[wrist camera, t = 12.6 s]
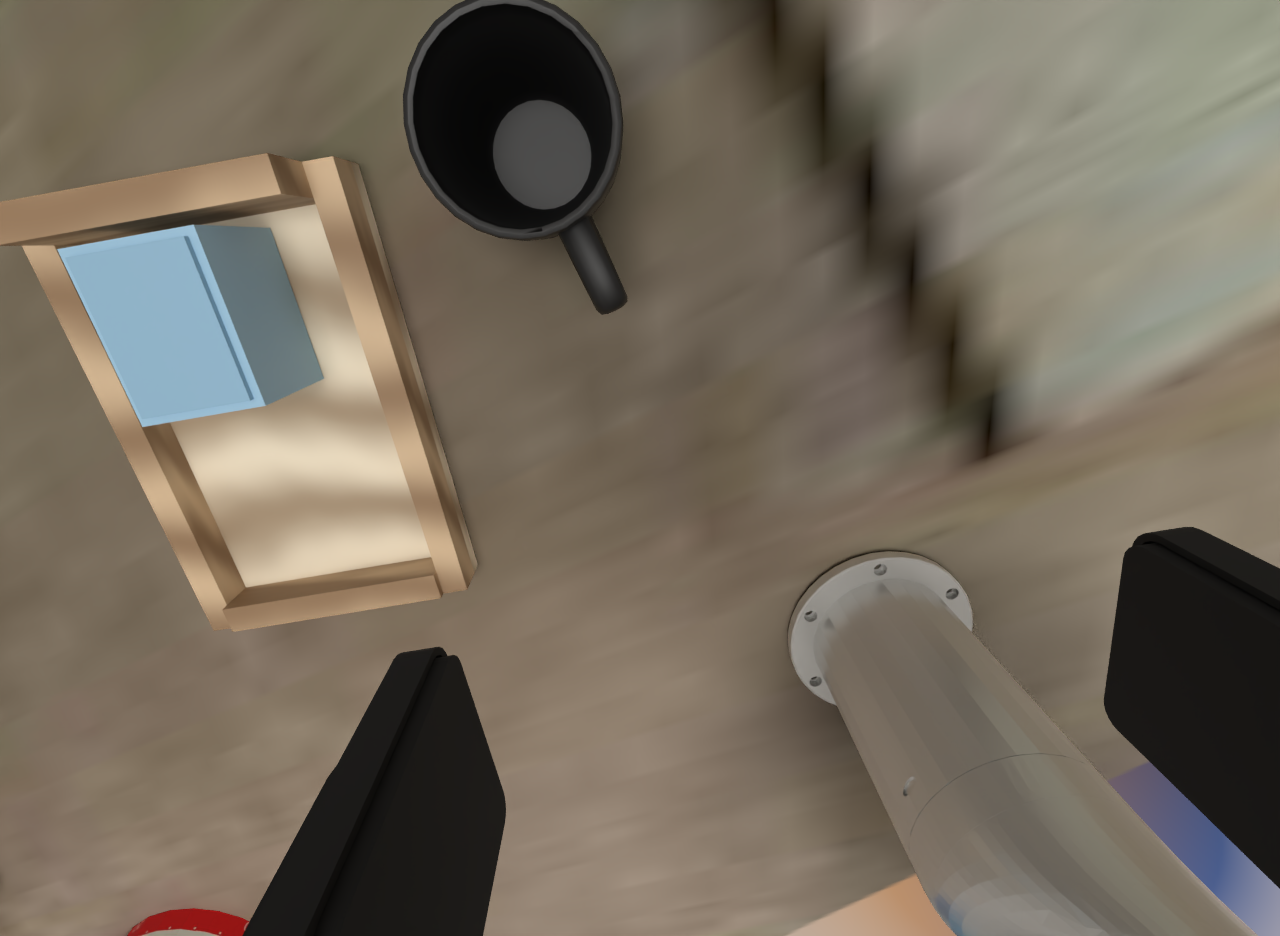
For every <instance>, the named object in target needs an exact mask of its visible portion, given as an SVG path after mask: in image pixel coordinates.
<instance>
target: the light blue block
mask: <svg viewBox="0 0 1280 936" xmlns="http://www.w3.org/2000/svg"><path fill="white" fill-rule="evenodd" d="M57 250H58V252H59V254H60V256H61V259H62V261H63V263H64V265H65V267H66V269H67V271H68V273H69V275H70V277H71V279H72V281H73V284H74V286H75V288H76V290H77V292H78V294H79V296H80V298H81V300H82V302H83V304H84V306H85V309H86V311H87V313H88V315H89V317H90V319H91V321H92V323H93V325H94V327H95V329H96V331H97V334H98V336H99V338H100V340H101V342H102V344H103V346H104V348H105V350H106V352H107V354H108V356H109V359H110V361H111V363H112V365H113V367H114V369H115V371H116V373H117V375H118V377H119V379H120V381H121V384H122V386H123V388H124V390H125V392H126V394H127V396H128V398H129V400H130V402H131V404H132V406H133V409H134V411H135V413H136V415H137V417H138V419H139V421H140V423H141V425H142V427H146V426H152V425H157V424H163V423H169V422H175V421H181V420H186V419H192V418H198V417H204V416H210V415H215V414H221V413H227V412H233V411H239V410H245V409H250V408H256V407H262V406H266V405H269V404H271V403H273V402H275V401H277V400H279V399H281V398H284V397H286V396H288V395H290V394H292V393H294V392H297V391H299V390H301V389H303V388H305V387H307V386H309V385H312V384H314V383H316V382H318V381H320V380H322V379H324V377H323V374H322V372H321V369H320V366H319V363H318V360H317V358H316V355H315V352H314V349H313V346H312V344H311V341H310V338H309V335H308V332H307V330H306V327H305V324H304V321H303V318H302V316H301V313H300V310H299V307H298V304H297V302H296V299H295V296H294V293H293V290H292V288H291V285H290V282H289V279H288V276H287V274H286V271H285V268H284V265H283V262H282V260H281V257H280V254H279V251H278V248H277V246H276V243H275V240H274V237H273V234H272V232H271V229H270V228H263V227H239V226H214V225H189V226H183V227H178V228H172V229H166V230H161V231H155V232H150V233H144V234H139V235H133V236H128V237H122V238H117V239H111V240H106V241H100V242H95V243H89V244H83V245H78V246H72V247H67V248H61V249H57Z"/></svg>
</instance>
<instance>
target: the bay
mask: <svg viewBox="0 0 1280 936" xmlns="http://www.w3.org/2000/svg"><path fill="white" fill-rule="evenodd" d="M189 225H214V226H239V227H263V228H270V229H271V232H272V234H273V237H274V240H275V243H276V246H277V248H278V251H279V254H280V257H281V260H282V262H283V265H284V268H285V271H286V274H287V276H288V279H289V282H290V285H291V288H292V290H293V293H294V296H295V299H296V302H297V304H298V307H299V310H300V313H301V316H302V318H303V321H304V324H305V327H306V330H307V332H308V335H309V338H310V341H311V344H312V346H313V349H314V352H315V355H316V358H317V360H318V363H319V366H320V369H321V372H322V374H323V377H324V379H322V380H320V381H318V382H316V383H314V384H312V385H309V386H307V387H305V388H303V389H301V390H299V391H297V392H294V393H292V394H290V395H288V396H286V397H284V398H281V399H279V400H277V401H275V402H273V403H271V404H269V405H266V406H262V407H256V408H250V409H245V410H239V411H233V412H227V413H221V414H215V415H210V416H204V417H198V418H192V419H186V420H181V421H175V422H169V423H163V424H157V425H152V426H146V427H142V425H141V423H140V421H139V419H138V417H137V415H136V413H135V411H134V409H133V406H132V404H131V402H130V400H129V398H128V396H127V394H126V392H125V390H124V388H123V386H122V384H121V381H120V379H119V377H118V375H117V373H116V371H115V369H114V367H113V365H112V363H111V361H110V359H109V356H108V354H107V352H106V350H105V348H104V346H103V344H102V342H101V340H100V338H99V336H98V334H97V331H96V329H95V327H94V325H93V323H92V321H91V319H90V317H89V315H88V313H87V311H86V309H85V306H84V304H83V302H82V300H81V298H80V296H79V294H78V292H77V290H76V288H75V286H74V284H73V281H72V279H71V277H70V275H69V273H68V271H67V269H66V267H65V265H64V263H63V261H62V259H61V256H60V254H59V252H58V250H57V249H61V248H67V247H72V246H78V245H83V244H89V243H95V242H100V241H106V240H111V239H117V238H122V237H128V236H133V235H139V234H144V233H150V232H155V231H161V230H166V229H172V228H178V227H183V226H189ZM0 246H22V247H23V249H24V251H25V253H26V255H27V257H28V259H29V261H30V263H31V265H32V267H33V269H34V271H35V273H36V275H37V277H38V279H39V281H40V283H41V285H42V287H43V289H44V291H45V293H46V295H47V297H48V299H49V301H50V303H51V305H52V307H53V309H54V311H55V313H56V315H57V317H58V319H59V321H60V323H61V325H62V327H63V329H64V331H65V333H66V335H67V337H68V339H69V341H70V343H71V345H72V347H73V349H74V351H75V353H76V355H77V357H78V359H79V361H80V363H81V365H82V367H83V369H84V371H85V373H86V375H87V377H88V379H89V381H90V383H91V385H92V387H93V389H94V391H95V393H96V395H97V397H98V399H99V401H100V403H101V405H102V407H103V409H104V411H105V413H106V415H107V417H108V419H109V421H110V423H111V425H112V427H113V429H114V431H115V433H116V435H117V437H118V439H119V441H120V443H121V445H122V447H123V449H124V451H125V453H126V455H127V457H128V459H129V462H130V464H131V466H132V468H133V470H134V472H135V474H136V476H137V478H138V480H139V482H140V484H141V486H142V488H143V490H144V492H145V494H146V496H147V498H148V500H149V502H150V504H151V506H152V508H153V510H154V512H155V514H156V516H157V518H158V520H159V522H160V524H161V526H162V528H163V530H164V532H165V534H166V536H167V538H168V540H169V542H170V544H171V546H172V548H173V550H174V552H175V554H176V556H177V558H178V560H179V562H180V564H181V566H182V568H183V570H184V572H185V574H186V576H187V578H188V580H189V582H190V584H191V586H192V588H193V590H194V592H195V594H196V596H197V598H198V600H199V602H200V604H201V606H202V608H203V610H204V612H205V614H206V616H207V618H208V620H209V622H210V624H211V626H212V628H213V630H214V631H216V630H222V629H228V628H231V630H232V632H235V631H241V630H247V629H253V628H260V627H266V626H272V625H278V624H284V623H290V622H296V621H303V620H309V619H315V618H321V617H327V616H333V615H339V614H346V613H352V612H358V611H364V610H370V609H376V608H383V607H389V606H395V605H401V604H407V603H413V602H419V601H426V600H432V599H438V598H441V597H442V595H443V593H449V592H455V591H461V590H467V589H468V587H469V584H470V582H471V580H472V577H473V575H474V573H475V570H476V568H477V566H478V564H477V560H476V557H475V554H474V550H473V547H472V543H471V540H470V537H469V533H468V530H467V527H466V523H465V520H464V517H463V513H462V510H461V507H460V503H459V500H458V496H457V493H456V490H455V486H454V483H453V480H452V476H451V473H450V470H449V466H448V463H447V460H446V456H445V453H444V450H443V446H442V443H441V439H440V436H439V433H438V429H437V426H436V423H435V419H434V416H433V413H432V409H431V406H430V403H429V399H428V396H427V392H426V389H425V386H424V382H423V379H422V376H421V372H420V369H419V366H418V362H417V359H416V356H415V352H414V349H413V345H412V342H411V339H410V335H409V332H408V329H407V325H406V322H405V319H404V315H403V312H402V309H401V305H400V302H399V298H398V295H397V292H396V288H395V285H394V282H393V278H392V275H391V272H390V268H389V265H388V262H387V258H386V255H385V251H384V248H383V245H382V241H381V238H380V235H379V231H378V228H377V225H376V221H375V218H374V215H373V211H372V208H371V205H370V201H369V198H368V194H367V191H366V188H365V184H364V181H363V178H362V174H361V171H360V168H359V164H357V163H354V162H350V161H347V160H344V159H340V158H337V157H334V156H331V157H326V158H320V159H315V160H309V161H304V162H300V161H296V160H292V159H289V158H285V157H281V156H277V155H273V154H269V153H265V154H259V155H254V156H248V157H243V158H237V159H232V160H226V161H221V162H215V163H210V164H205V165H199V166H194V167H188V168H183V169H177V170H172V171H166V172H161V173H155V174H150V175H145V176H139V177H134V178H128V179H123V180H117V181H112V182H106V183H101V184H95V185H90V186H85V187H79V188H74V189H68V190H63V191H57V192H52V193H46V194H41V195H35V196H30V197H25V198H19V199H14V200H8V201H3V202H0Z"/></svg>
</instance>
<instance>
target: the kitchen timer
mask: <svg viewBox="0 0 1280 936" xmlns="http://www.w3.org/2000/svg"><path fill="white" fill-rule="evenodd" d="M248 924H249V921H247V920H245V919H243V918H240V917H237V916H233V915H230V914H227V913H223V912H220V911H213V910H203V909H194V908H193V909H180V910H169V911H166V912H163V913H159V914H156V915H153V916H150V917H148V918H146V919H145V920H143V921H142V922H140V923H139V924H137V925H136V926H134V927H133V928H132V930H131V931H130V933H129V934H128V935H127V936H242V935H243V933H244V931H245V929H246V928H247V926H248Z"/></svg>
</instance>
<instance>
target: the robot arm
mask: <svg viewBox="0 0 1280 936" xmlns="http://www.w3.org/2000/svg"><path fill="white" fill-rule="evenodd" d="M972 627H973V616H972V608H971V605H970V602H969V599H968V596H967V594H966V593H965V591H964V589H963V588H962V586H961V585H960V583H959V582H958V581H957V580H956V579H955V578H954V577H953V576H952V575H951V574H950V573H949V572H948V571H947V570H945V569H944V568H943V567H941V566H940V565H939V564H937V563H936V562H934V561H932V560H929V559H927V558H925V557H923V556H920V555H915V554H911V553H907V552H893V551H886V552H878V553H870V554H866V555H863V556H859V557H856V558H852V559H850V560H848V561H846V562H844V563H842V564H840V565H838V566H836V567H834V568H833V569H831V570H830V571H828V572H827V573H825V574H824V575H822V576H821V577H820V578H819V579H818V580H817V581H816V582H815V583H814V584H813V585H812V586H810V587H809V588H808V590H807V591H806V592H805V594H804V595H803V596H802V598H801V599H800V601H799V602H798V604H797V606H796V608H795V610H794V612H793V614H792V617H791V621H790V625H789V629H788V649H789V653H790V658H791V661H792V663H793V665H794V668H795V670H796V673H797V674H798V676H799V677H800V679H801V681H802V682H803V684H804V685H805V686H806V687H807V688H808V689H809V690H810V691H811V692H812V693H813V694H815V695H816V696H818V697H819V698H821V699H823V700H824V701H826V702H828V703H831V704H833V705H836V706H837V707H838V709H839V711H840V714H841V716H842V718H843V720H844V722H845V724H846V726H847V728H848V730H849V733H850V735H851V737H852V739H853V741H854V743H855V745H856V747H857V749H858V752H859V754H860V756H861V758H862V760H863V763H864V765H865V767H866V769H867V771H868V773H869V775H870V777H871V779H872V781H873V783H874V785H875V788H876V790H877V792H878V794H879V796H880V798H881V800H882V802H883V805H884V807H885V809H886V811H887V813H888V815H889V817H890V819H891V821H892V824H893V826H894V828H895V830H896V832H897V834H898V836H899V838H900V841H901V843H902V845H903V847H904V849H905V851H906V853H907V855H908V857H909V860H910V862H911V864H912V866H913V868H914V870H915V872H916V874H917V877H918V879H919V881H920V883H921V885H922V887H923V889H924V891H925V893H926V895H927V896H928V898H929V900H930V902H931V903H932V905H933V907H934V908H935V910H936V911H937V913H938V914H939V915H940V917H941V918H942V919H943V921H944V922H945V923H946V925H947V926H948V927H949V928H950V929H951V930H952V931H953V932H954V933H955V934H956V935H957V936H1258V935H1257V934H1256V933H1254V932H1253V931H1252V930H1251V929H1250V928H1249V927H1248V926H1247V925H1246V924H1245V923H1244V922H1243V921H1242V920H1241V919H1240V918H1239V917H1237V916H1236V915H1235V914H1234V913H1233V912H1232V911H1231V910H1230V909H1229V908H1228V907H1227V906H1226V905H1225V904H1224V903H1222V901H1220V900H1219V899H1218V898H1217V897H1216V896H1215V895H1214V894H1213V893H1212V892H1211V891H1210V890H1209V889H1208V888H1207V887H1206V886H1205V885H1204V884H1203V883H1202V882H1201V881H1200V880H1199V879H1198V878H1197V877H1196V876H1195V875H1194V874H1193V873H1192V872H1191V871H1190V870H1189V869H1188V868H1187V867H1186V866H1185V865H1184V864H1183V862H1181V861H1180V860H1179V858H1178V857H1177V856H1176V855H1175V854H1174V853H1173V852H1172V851H1171V850H1170V849H1169V848H1168V847H1167V846H1166V845H1165V844H1164V843H1163V842H1162V840H1161V839H1160V838H1159V837H1158V836H1157V835H1156V834H1155V833H1154V832H1153V831H1152V830H1151V829H1150V828H1149V827H1148V826H1147V824H1146V823H1145V822H1144V821H1143V820H1142V819H1141V818H1140V817H1139V816H1138V815H1137V814H1136V813H1135V812H1134V811H1133V809H1132V808H1131V807H1130V806H1129V805H1128V804H1127V803H1126V802H1125V801H1124V799H1123V798H1122V797H1121V796H1120V795H1119V794H1118V793H1117V792H1116V791H1115V790H1114V788H1113V787H1111V785H1110V784H1109V783H1108V782H1107V781H1106V780H1105V779H1104V777H1102V776H1101V775H1100V774H1099V772H1098V771H1097V770H1096V769H1095V768H1094V767H1093V765H1092V764H1091V763H1090V762H1089V761H1088V760H1087V759H1086V758H1085V756H1084V755H1083V754H1082V753H1081V752H1080V751H1079V750H1078V749H1077V748H1076V747H1075V745H1074V744H1073V743H1072V742H1071V741H1070V740H1069V739H1068V738H1067V737H1066V736H1065V734H1064V733H1063V732H1062V731H1061V730H1060V729H1059V728H1058V727H1057V726H1056V725H1055V723H1054V722H1053V721H1052V720H1051V719H1050V718H1049V717H1048V716H1047V715H1046V714H1045V712H1044V711H1043V710H1042V709H1041V708H1040V707H1039V706H1038V705H1037V704H1036V703H1035V701H1034V700H1033V699H1032V698H1031V697H1030V696H1029V695H1028V694H1027V693H1026V692H1025V690H1024V689H1023V688H1022V687H1021V686H1020V685H1019V684H1018V683H1017V682H1016V681H1015V679H1014V678H1013V677H1012V676H1011V675H1010V674H1009V673H1008V672H1007V671H1006V670H1005V668H1004V667H1003V666H1002V665H1001V664H1000V663H999V662H998V661H997V660H996V659H995V657H994V656H993V655H992V654H991V653H990V652H989V651H988V650H987V649H986V648H985V646H984V645H983V644H982V643H981V642H980V641H979V640H978V639H977V638H976V637H975V635H974V634H973V633H972ZM1104 706H1105V710H1106V713H1107V715H1108V718H1109V719H1110V721H1111V723H1112V724H1113V725H1114V727H1115V728H1116V729H1117V730H1118V731H1119V732H1120V733H1121V734H1122V735H1123V736H1124V737H1125V738H1126V739H1127V740H1128V741H1129V742H1130V743H1131V744H1132V745H1133V746H1134V747H1135V748H1136V749H1137V750H1138V751H1139V752H1140V753H1141V754H1142V755H1143V756H1145V757H1146V758H1147V759H1148V760H1149V761H1150V762H1151V763H1152V764H1153V765H1154V766H1155V767H1156V768H1157V769H1158V770H1159V771H1160V772H1161V773H1162V774H1163V775H1164V776H1165V777H1166V778H1167V779H1168V780H1169V781H1170V782H1171V783H1172V784H1173V785H1174V786H1175V787H1176V788H1177V789H1178V790H1179V791H1180V792H1181V793H1182V794H1184V796H1185V797H1186V798H1188V799H1189V800H1190V801H1191V802H1192V803H1193V804H1194V805H1195V806H1196V807H1197V808H1198V809H1199V810H1200V811H1201V812H1202V813H1203V814H1204V815H1205V816H1206V817H1207V818H1208V819H1209V820H1210V821H1211V822H1212V823H1213V824H1214V825H1215V826H1216V827H1217V828H1218V829H1219V830H1220V831H1221V832H1222V833H1223V834H1225V836H1226V837H1227V838H1229V840H1231V841H1232V842H1233V843H1234V844H1235V845H1236V846H1237V847H1238V848H1239V849H1240V850H1241V851H1242V852H1243V853H1244V854H1245V855H1246V856H1247V857H1248V858H1249V859H1250V860H1251V861H1252V862H1253V863H1254V864H1255V865H1256V866H1257V867H1258V868H1259V869H1260V870H1261V871H1262V872H1263V873H1264V874H1265V875H1266V876H1268V878H1269V879H1271V880H1272V882H1274V883H1275V884H1276V885H1277V886H1278V887H1279V888H1280V568H1278V567H1276V566H1273V565H1271V564H1269V563H1267V562H1265V561H1263V560H1261V559H1259V558H1257V557H1255V556H1253V555H1251V554H1249V553H1247V552H1245V551H1243V550H1241V549H1239V548H1237V547H1235V546H1233V545H1231V544H1229V543H1227V542H1225V541H1223V540H1221V539H1219V538H1217V537H1215V536H1213V535H1211V534H1209V533H1207V532H1205V531H1203V530H1200V529H1197V528H1194V527H1182V528H1176V529H1169V530H1163V531H1157V532H1151V533H1145V534H1142V535H1140V536H1138V537H1137V539H1136V540H1135V541H1134V543H1133V546H1132V547H1130V548H1128V550H1127V551H1126V552H1125V555H1124V558H1123V565H1122V572H1121V579H1120V587H1119V594H1118V601H1117V608H1116V616H1115V623H1114V630H1113V637H1112V645H1111V652H1110V659H1109V666H1108V674H1107V681H1106V688H1105V695H1104ZM505 817H506V803H505V796H504V792H503V789H502V786H501V783H500V780H499V777H498V774H497V771H496V768H495V765H494V762H493V759H492V756H491V753H490V750H489V746H488V743H487V740H486V737H485V734H484V731H483V728H482V725H481V722H480V719H479V716H478V713H477V710H476V707H475V704H474V701H473V698H472V695H471V692H470V689H469V686H468V683H467V680H466V677H465V674H464V671H463V668H462V665H461V662H460V660H459V658H458V657H457V656H455V655H451V656H447V654H446V652H445V651H444V650H443V648H441V647H434V648H428V649H422V650H416V651H409V652H403V653H400V654H398V655H397V656H396V657H395V659H394V660H393V662H392V664H391V666H390V668H389V669H388V671H387V673H386V675H385V677H384V679H383V681H382V682H381V684H380V686H379V688H378V690H377V692H376V694H375V695H374V697H373V699H372V701H371V703H370V705H369V707H368V708H367V710H366V712H365V714H364V716H363V718H362V720H361V722H360V723H359V725H358V727H357V729H356V731H355V733H354V735H353V736H352V738H351V740H350V742H349V744H348V746H347V748H346V749H345V751H344V753H343V755H342V757H341V759H340V761H339V763H338V764H337V766H336V767H335V768H334V770H333V771H332V773H331V774H330V775H329V777H328V778H327V780H326V782H325V784H324V786H323V787H322V789H321V791H320V793H319V795H318V797H317V798H316V800H315V802H314V804H313V806H312V808H311V810H310V811H309V813H308V815H307V817H306V819H305V821H304V822H303V824H302V826H301V828H300V830H299V832H298V834H297V835H296V837H295V839H294V841H293V843H292V845H291V846H290V848H289V850H288V852H287V854H286V856H285V858H284V859H283V861H282V863H281V865H280V867H279V869H278V870H277V872H276V874H275V876H274V878H273V880H272V882H271V883H270V885H269V887H268V889H267V891H266V893H265V894H264V896H263V898H262V900H261V902H260V904H259V905H258V907H257V909H256V911H255V913H254V915H253V917H252V918H251V920H250V922H249V924H248V926H247V928H246V929H245V931H244V933H243V935H242V936H483V932H484V927H485V922H486V917H487V912H488V907H489V901H490V896H491V891H492V886H493V881H494V876H495V871H496V865H497V860H498V855H499V850H500V845H501V840H502V835H503V830H504V824H505Z"/></svg>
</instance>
